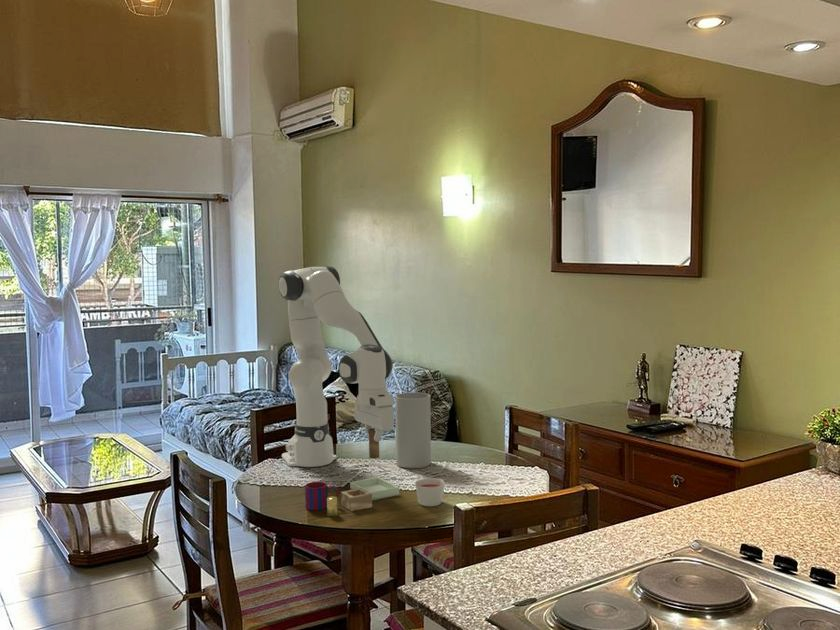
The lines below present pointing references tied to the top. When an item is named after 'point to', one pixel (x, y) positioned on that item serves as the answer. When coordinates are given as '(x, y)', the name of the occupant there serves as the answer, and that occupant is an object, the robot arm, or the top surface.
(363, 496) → the socket block
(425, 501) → the candle
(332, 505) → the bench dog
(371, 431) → the dowel
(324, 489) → the mug
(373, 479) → the tray
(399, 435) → the cylinder vase
